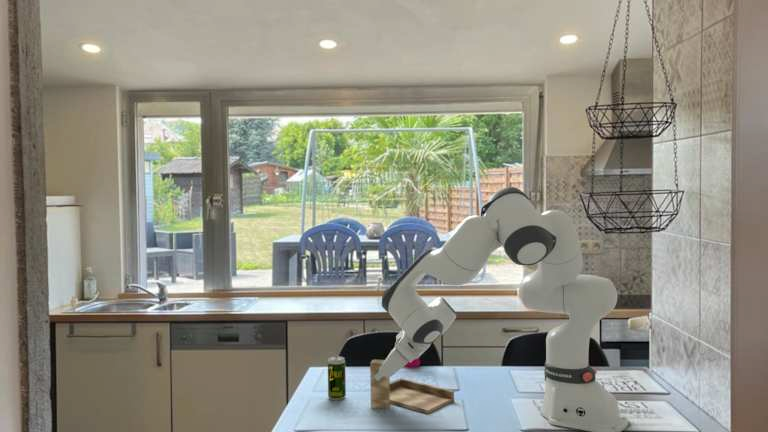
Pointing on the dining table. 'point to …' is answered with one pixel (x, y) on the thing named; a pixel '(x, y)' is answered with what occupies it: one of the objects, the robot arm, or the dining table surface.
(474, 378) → the dining table surface
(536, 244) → the robot arm
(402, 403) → the wooden tray
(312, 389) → the dining table surface
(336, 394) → the beer can
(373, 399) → the plank offcut
